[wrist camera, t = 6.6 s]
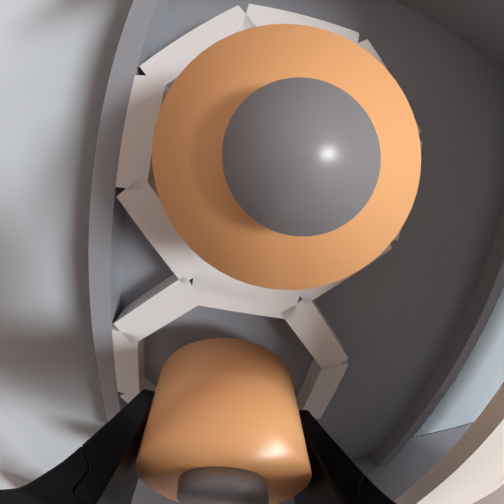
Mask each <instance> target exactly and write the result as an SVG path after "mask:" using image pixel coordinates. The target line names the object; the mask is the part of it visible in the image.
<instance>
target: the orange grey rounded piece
mask: <svg viewBox="0 0 504 504" xmlns="http://www.w3.org/2000/svg"><path fill="white" fill-rule="evenodd" d="M135 470H136V473H137V475H138V477H139V478H140V479H141V481H142V482H143V483H144V484H145V485H147V486H148V487H149V488H150V489H152V490H153V491H155V492H157V493H158V494H160V495H162V496H164V497H166V498H169V499H171V500H174V501H176V502H179V503H181V504H277V503H280V502H283V501H285V500H288V499H290V498H292V497H294V496H295V495H297V494H299V493H300V492H301V491H303V490H304V489H305V488H306V487H307V485H308V484H309V483H310V480H311V477H312V472H311V468H310V463H309V458H308V453H307V448H306V443H305V438H304V434H303V429H302V424H301V419H300V415H299V410H298V405H297V400H296V396H295V391H294V386H293V382H292V377H291V374H290V371H289V369H288V367H287V366H286V364H285V363H284V362H283V361H282V360H281V359H280V358H279V357H278V356H277V355H276V354H274V353H273V352H272V351H270V350H268V349H267V348H265V347H263V346H260V345H258V344H256V343H252V342H249V341H245V340H240V339H233V338H211V339H204V340H199V341H196V342H193V343H190V344H188V345H185V346H183V347H181V348H180V349H178V350H177V351H175V352H174V353H173V354H172V355H171V356H170V357H169V358H168V359H167V360H166V362H165V363H164V365H163V367H162V370H161V373H160V377H159V380H158V383H157V387H156V390H155V394H154V397H153V401H152V404H151V408H150V411H149V415H148V419H147V422H146V426H145V429H144V433H143V437H142V440H141V444H140V448H139V452H138V456H137V460H136V464H135Z"/></svg>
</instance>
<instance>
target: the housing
mask: <svg viewBox="0 0 504 504" xmlns="http://www.w3.org/2000/svg"><path fill="white" fill-rule="evenodd" d="M269 24H297V25H307V26H311V27H316V28H320V29H324V30H327V31H330V32H332V33H335V34H337V35H340V36H342V37H344V38H346V39H348V40H350V41H352V42H353V43H355V44H357V45H359V46H360V47H361V48H363V49H364V50H366V51H367V52H368V53H370V54H371V55H372V56H373V57H374V58H376V59H377V60H378V61H379V62H380V63H381V64H382V65H383V66H384V67H385V68H386V69H387V71H388V72H389V73H390V74H391V75H392V77H393V78H394V79H395V80H396V82H397V83H398V85H399V86H400V88H401V90H402V91H403V93H404V94H405V96H406V98H407V101H408V103H409V105H410V107H411V109H412V112H413V115H414V118H415V121H416V124H417V128H418V133H419V138H420V146H421V172H420V180H419V185H418V190H417V194H416V197H415V200H414V203H413V206H412V209H411V211H410V213H409V215H408V217H407V219H406V221H405V223H404V225H403V226H402V228H401V229H400V231H399V233H398V234H397V236H396V237H395V238H394V239H393V241H392V242H391V243H390V244H389V245H388V247H387V248H386V249H385V250H384V251H383V252H382V253H381V254H380V255H379V256H377V257H376V258H375V259H374V260H373V261H371V262H370V263H369V264H367V265H366V266H365V267H363V268H362V269H360V270H359V271H357V272H355V273H353V274H352V275H350V276H348V277H346V278H343V279H341V280H338V281H336V282H334V283H330V284H327V285H323V286H320V287H315V288H309V289H302V290H278V289H268V288H263V287H258V286H254V285H250V284H247V283H244V282H242V281H239V280H236V279H234V278H232V277H230V276H228V275H226V274H224V273H222V272H220V271H218V270H217V269H215V268H214V267H212V266H211V265H209V264H208V263H207V262H205V261H204V260H203V259H201V258H200V257H199V256H198V255H197V254H196V253H195V252H194V251H193V250H191V249H190V248H189V246H188V245H187V244H186V243H185V242H184V240H183V239H182V238H181V237H180V236H179V235H178V233H177V231H176V230H175V228H174V227H173V225H172V224H171V222H170V221H169V219H168V217H167V215H166V213H165V210H164V208H163V206H162V204H161V201H160V198H159V195H158V192H157V189H156V185H155V179H154V173H153V167H152V144H153V136H154V129H155V125H156V121H157V117H158V114H159V111H160V108H161V106H162V104H163V101H164V99H165V97H166V94H167V93H168V91H169V89H170V88H171V86H172V85H173V83H174V81H175V80H176V78H177V77H178V76H179V75H180V73H181V72H182V71H183V70H184V69H185V67H186V66H187V65H188V64H189V63H190V62H191V61H192V60H193V59H194V58H195V57H197V56H198V55H199V54H200V53H201V52H202V51H204V50H205V49H207V48H208V47H210V46H211V45H213V44H214V43H216V42H217V41H219V40H221V39H223V38H225V37H227V36H229V35H231V34H234V33H236V32H239V31H242V30H246V29H249V28H252V27H258V26H263V25H269ZM88 267H89V295H90V311H91V323H92V333H93V342H94V351H95V358H96V365H97V372H98V378H99V384H100V389H101V395H102V400H103V405H104V409H105V414H106V418H107V422H108V421H109V420H111V419H112V418H113V417H114V416H115V415H116V414H117V413H118V412H119V411H120V410H121V409H122V408H124V407H125V406H126V405H127V404H128V403H129V402H130V401H131V400H132V399H133V398H134V397H135V396H136V395H137V394H138V393H140V392H141V391H142V390H143V389H148V390H152V391H155V390H156V387H157V383H158V380H159V377H160V373H161V370H162V367H163V365H164V363H165V362H166V360H167V359H168V358H169V357H170V356H171V355H172V354H173V353H174V352H175V351H177V350H178V349H180V348H181V347H183V346H185V345H188V344H190V343H193V342H196V341H199V340H204V339H211V338H233V339H240V340H245V341H249V342H252V343H256V344H258V345H260V346H263V347H265V348H267V349H268V350H270V351H272V352H273V353H274V354H276V355H277V356H278V357H279V358H280V359H281V360H282V361H283V362H284V363H285V364H286V366H287V367H288V369H289V371H290V374H291V377H292V382H293V386H294V391H295V396H296V400H297V405H298V410H308V411H309V412H310V413H311V414H312V416H313V417H314V418H315V419H316V420H317V421H318V423H319V424H320V425H321V426H322V427H323V428H324V430H325V431H326V432H327V433H328V434H329V435H330V437H331V438H332V439H333V440H334V441H335V442H336V443H337V444H338V446H339V447H340V448H341V449H342V450H343V451H344V452H345V453H346V455H347V456H348V457H349V458H350V459H351V460H352V461H353V462H354V463H355V465H356V466H357V467H358V468H359V469H360V470H361V471H362V472H363V473H364V475H366V476H367V477H368V478H369V479H370V481H371V482H372V483H373V484H374V485H375V486H376V487H377V488H378V489H380V490H381V491H382V492H383V493H384V494H385V495H386V496H388V497H389V498H390V499H391V500H393V501H394V500H396V499H397V498H398V497H399V496H401V495H402V494H403V493H404V492H406V491H407V490H408V489H409V488H410V487H412V486H413V485H414V484H415V483H416V482H417V481H418V480H420V479H421V478H422V477H423V476H424V475H425V474H426V473H427V472H428V471H429V470H430V469H431V468H432V467H434V466H435V465H436V464H437V463H438V462H439V461H440V460H441V459H442V458H443V457H444V456H445V455H446V454H447V452H448V451H449V450H450V449H451V448H452V447H453V446H454V445H455V444H456V443H457V442H458V441H459V439H460V438H461V437H462V436H463V435H464V434H465V433H466V431H467V430H468V429H469V428H470V427H471V426H472V424H473V423H474V422H473V423H470V424H466V425H463V426H459V427H456V428H452V429H448V430H444V431H440V432H435V433H431V434H426V435H422V436H416V437H413V436H414V434H415V433H416V432H417V431H418V430H419V428H420V427H421V426H422V425H423V423H424V422H425V421H426V419H427V418H428V417H429V416H430V414H431V413H432V412H433V410H434V409H435V407H436V406H437V405H438V403H439V402H440V401H441V399H442V398H443V396H444V395H445V393H446V392H447V390H448V389H449V387H450V386H451V384H452V383H453V381H454V380H455V378H456V377H457V375H458V374H459V372H460V370H461V369H462V367H463V365H464V364H465V362H466V360H467V359H468V357H469V355H470V353H471V352H472V350H473V348H474V346H475V344H476V343H477V341H478V339H479V337H480V335H481V333H482V331H483V329H484V327H485V325H486V323H487V321H488V319H489V317H490V315H491V313H492V311H493V308H494V306H495V304H496V302H497V299H498V297H499V295H500V292H501V290H502V288H503V285H504V0H133V3H132V5H131V8H130V11H129V13H128V16H127V19H126V22H125V25H124V28H123V31H122V34H121V37H120V40H119V43H118V47H117V50H116V54H115V57H114V61H113V64H112V68H111V72H110V76H109V80H108V84H107V89H106V93H105V98H104V103H103V108H102V113H101V118H100V124H99V129H98V136H97V142H96V149H95V157H94V165H93V174H92V184H91V197H90V212H89V240H88ZM131 504H181V503H179V502H176V501H174V500H171V499H169V498H166V497H164V496H162V495H160V494H158V493H157V492H155V491H153V490H152V489H150V488H149V487H148V486H147V485H145V484H144V483H143V482H142V481H141V479H140V478H139V479H138V482H137V485H136V489H135V492H134V495H133V498H132V502H131ZM277 504H295V500H294V497H292V498H290V499H288V500H285V501H283V502H280V503H277Z"/></svg>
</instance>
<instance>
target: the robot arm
mask: <svg viewBox="0 0 504 504" xmlns="http://www.w3.org/2000/svg"><path fill="white" fill-rule="evenodd" d="M154 394H155V391H152V390H148V389H143V390H142V391H141V392H140V393H138V394H137V395H136V396H135V397H134V398H133V399H132V400H131V401H130V402H129V403H128V404H127V405H126V406H125V407H124V408H122V409H121V410H120V411H119V412H118V413H117V414H116V415H115V416H114V417H113V418H112V419H111V420H109V421H108V422H107V423H106V424H105V425H104V426H103V427H102V428H101V429H100V430H99V431H97V432H96V433H95V434H94V435H93V436H92V437H91V438H90V439H89V440H88V441H86V442H85V443H84V444H83V445H82V446H83V447H80V448H79V449H77V450H76V451H75V452H74V453H73V454H72V455H71V456H69V457H68V458H67V459H66V460H64V461H63V462H62V463H60V464H59V465H57V466H56V467H54V468H53V469H51V470H50V471H48V472H47V473H45V474H43V475H42V476H40V477H39V478H37V479H35V480H34V481H32V482H31V483H29V484H27V485H25V486H22V487H19V488H15V489H5V490H0V504H131V502H132V498H133V495H134V492H135V489H136V485H137V482H138V479H139V477H138V475H137V473H136V470H135V464H136V460H137V456H138V452H139V448H140V444H141V440H142V437H143V433H144V429H145V426H146V422H147V419H148V415H149V411H150V408H151V404H152V401H153V397H154ZM299 415H300V419H301V424H302V429H303V434H304V438H305V443H306V448H307V453H308V458H309V463H310V468H311V472H312V477H311V480H310V483H309V484H308V485H307V487H306V488H305V489H304V490H303V491H301V492H300V493H299V494H297V495H295V496H294V500H295V504H396V503H395V502H394V501H393V500H391V499H390V498H389V497H388V496H386V495H385V494H384V493H383V492H382V491H381V490H380V489H378V488H377V487H376V486H375V485H374V484H373V483H372V482H371V481H370V479H369V478H368V477H367V476H366V475H364V473H363V472H362V471H361V470H360V469H359V468H358V467H357V466H356V465H355V463H354V462H353V461H352V460H351V459H350V458H349V457H348V456H347V455H346V453H345V452H344V451H343V450H342V449H341V448H340V447H339V446H338V444H337V443H336V442H335V441H334V440H333V439H332V438H331V437H330V435H329V434H328V433H327V432H326V431H325V430H324V428H323V427H322V426H321V425H320V424H319V423H318V421H317V420H316V419H315V418H314V417H313V416H312V414H311V413H310V412H309V411H308V410H299Z"/></svg>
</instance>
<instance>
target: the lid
mask: <svg viewBox="0 0 504 504" xmlns="http://www.w3.org/2000/svg"><path fill="white" fill-rule="evenodd" d="M503 484H504V382H503V384H502V385H501V387H500V388H499V390H498V391H497V393H496V394H495V396H494V397H493V398H492V400H491V401H490V402H489V404H488V405H487V407H486V408H485V409H484V410H483V412H482V413H481V414H480V416H479V417H478V418H477V419H476V421H475V422H474V423H473V424H472V426H471V427H470V428H469V429H468V430H467V431H466V433H465V434H464V435H463V436H462V437H461V438H460V439H459V441H458V442H457V443H456V444H455V445H454V446H453V447H452V448H451V449H450V450H449V451H448V452H447V454H446V455H445V456H444V457H443V458H442V459H441V460H440V461H439V462H438V463H437V464H436V465H435V466H434V467H432V468H431V469H430V470H429V471H428V472H427V473H426V474H425V475H424V476H423V477H422V478H421V479H420V480H418V481H417V482H416V483H415V484H414V485H413V486H412V487H410V488H409V489H408V490H407V491H406V492H404V493H403V494H402V495H401V496H399V497H398V498H397V499H396V500H394V502H395V503H396V504H472V503H474V502H476V501H478V500H480V499H481V498H483V497H485V496H487V495H488V494H490V493H491V492H493V491H495V490H496V489H498V488H499V487H500V486H501V485H503Z"/></svg>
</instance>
